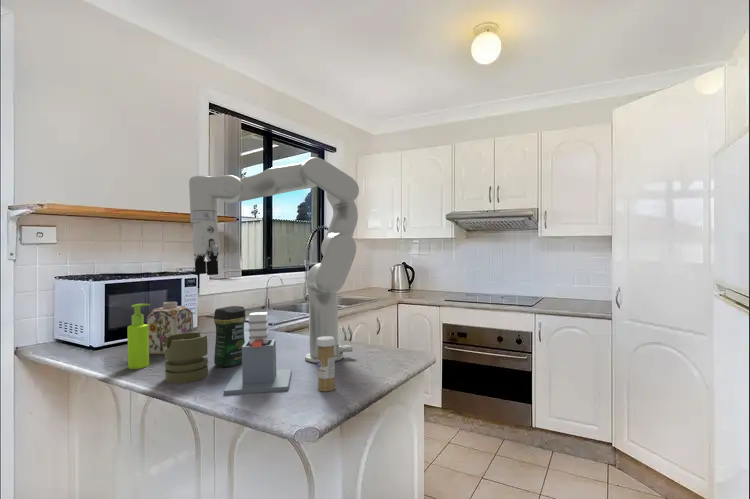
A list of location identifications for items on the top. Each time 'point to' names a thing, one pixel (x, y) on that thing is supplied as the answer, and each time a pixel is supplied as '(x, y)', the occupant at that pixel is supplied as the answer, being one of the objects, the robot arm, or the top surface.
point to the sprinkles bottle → (326, 363)
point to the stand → (259, 371)
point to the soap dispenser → (138, 340)
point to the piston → (186, 357)
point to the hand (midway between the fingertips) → (206, 274)
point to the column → (258, 327)
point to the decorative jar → (167, 324)
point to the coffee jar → (229, 335)
